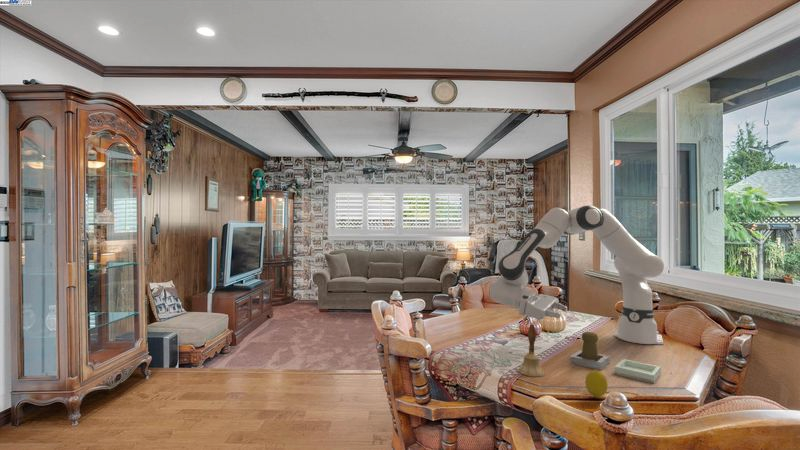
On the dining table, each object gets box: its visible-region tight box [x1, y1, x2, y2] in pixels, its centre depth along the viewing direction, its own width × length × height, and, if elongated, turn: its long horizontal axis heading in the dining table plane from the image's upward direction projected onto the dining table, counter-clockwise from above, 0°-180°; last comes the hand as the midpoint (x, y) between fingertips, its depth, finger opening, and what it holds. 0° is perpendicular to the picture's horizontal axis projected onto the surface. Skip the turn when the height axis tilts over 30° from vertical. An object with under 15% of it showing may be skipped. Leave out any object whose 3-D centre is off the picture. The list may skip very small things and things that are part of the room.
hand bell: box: [517, 323, 545, 378], centre depth 128 cm, size 8×8×16 cm
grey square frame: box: [569, 349, 611, 371], centre depth 138 cm, size 10×10×2 cm
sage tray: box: [614, 358, 662, 384], centre depth 127 cm, size 11×11×2 cm
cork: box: [581, 331, 599, 361], centre depth 138 cm, size 6×6×11 cm
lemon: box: [585, 369, 608, 399], centre depth 108 cm, size 6×6×8 cm
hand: (563, 312), depth 145 cm, fingers open, 8 cm apart
